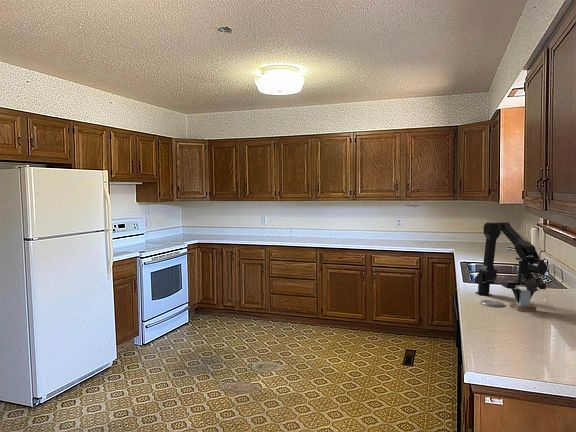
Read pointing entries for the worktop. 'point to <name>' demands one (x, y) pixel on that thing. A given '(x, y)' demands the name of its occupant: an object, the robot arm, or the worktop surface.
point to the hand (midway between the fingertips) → (522, 302)
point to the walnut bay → (522, 307)
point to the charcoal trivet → (492, 303)
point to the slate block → (524, 297)
